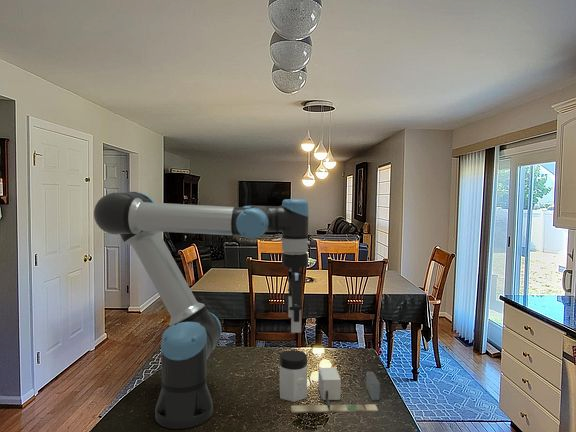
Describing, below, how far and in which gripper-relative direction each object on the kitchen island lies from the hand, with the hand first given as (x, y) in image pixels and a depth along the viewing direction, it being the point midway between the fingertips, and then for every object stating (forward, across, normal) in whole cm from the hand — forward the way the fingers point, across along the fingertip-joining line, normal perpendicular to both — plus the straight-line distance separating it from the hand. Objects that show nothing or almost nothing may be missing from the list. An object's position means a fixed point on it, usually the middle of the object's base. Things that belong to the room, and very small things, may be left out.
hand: (294, 324), depth 123 cm
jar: (+22, 0, 0) cm, 22 cm away
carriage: (+21, -2, -10) cm, 24 cm away
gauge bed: (+21, -8, -11) cm, 25 cm away
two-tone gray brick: (+21, 0, -24) cm, 32 cm away
